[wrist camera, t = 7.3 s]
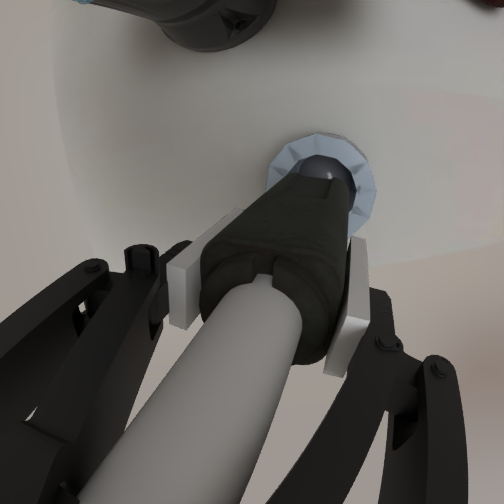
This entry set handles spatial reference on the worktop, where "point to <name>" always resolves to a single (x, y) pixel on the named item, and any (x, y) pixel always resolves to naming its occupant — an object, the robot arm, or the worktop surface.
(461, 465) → the robot arm
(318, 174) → the pale blue faceted cup
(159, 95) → the worktop surface
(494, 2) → the potato
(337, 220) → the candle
